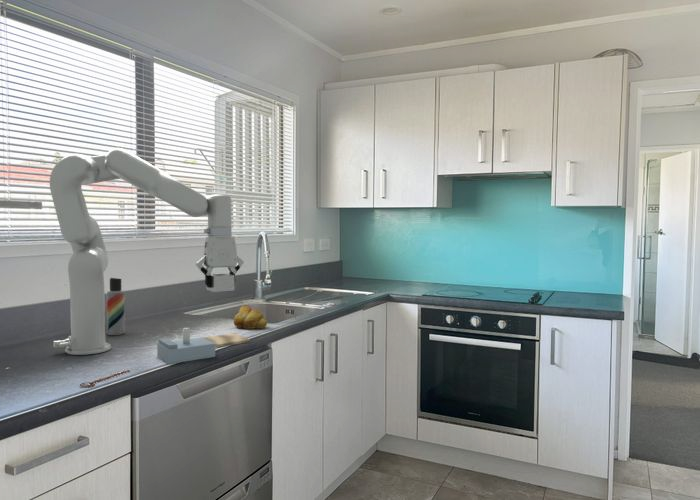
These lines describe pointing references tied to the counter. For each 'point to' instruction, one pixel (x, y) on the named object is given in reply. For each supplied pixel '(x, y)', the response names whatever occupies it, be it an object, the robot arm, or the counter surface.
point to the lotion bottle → (115, 308)
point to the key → (102, 379)
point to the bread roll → (249, 318)
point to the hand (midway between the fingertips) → (220, 286)
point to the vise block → (185, 349)
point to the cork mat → (227, 339)
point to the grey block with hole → (222, 282)
